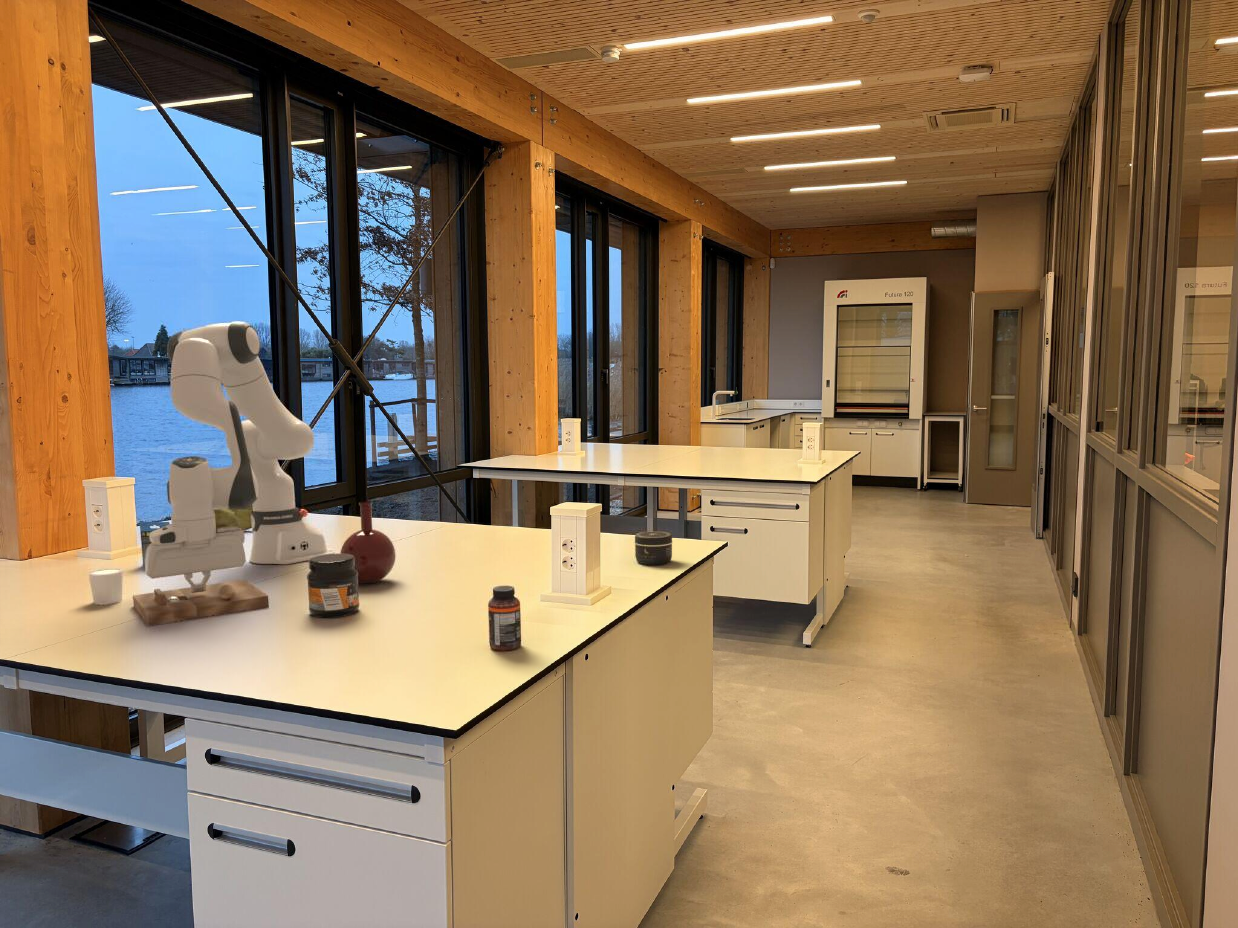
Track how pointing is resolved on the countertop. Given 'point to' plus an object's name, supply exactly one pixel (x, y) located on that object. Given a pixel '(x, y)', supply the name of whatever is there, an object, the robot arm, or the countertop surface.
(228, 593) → the cork ball
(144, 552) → the label tape cartridge
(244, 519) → the crocodile head
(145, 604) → the board
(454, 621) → the countertop surface
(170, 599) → the steel ball
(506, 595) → the supplement bottle
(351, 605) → the supplement container
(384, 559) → the round-bottom flask
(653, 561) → the jar
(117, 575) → the white cup
